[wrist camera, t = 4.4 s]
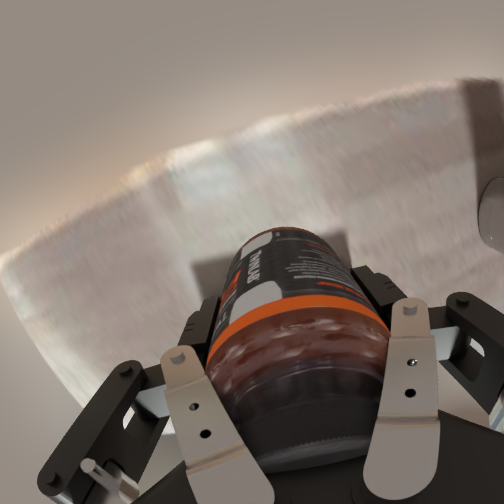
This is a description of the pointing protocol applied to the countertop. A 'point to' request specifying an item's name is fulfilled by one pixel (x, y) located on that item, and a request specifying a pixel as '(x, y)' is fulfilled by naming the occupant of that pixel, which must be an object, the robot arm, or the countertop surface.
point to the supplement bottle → (297, 353)
